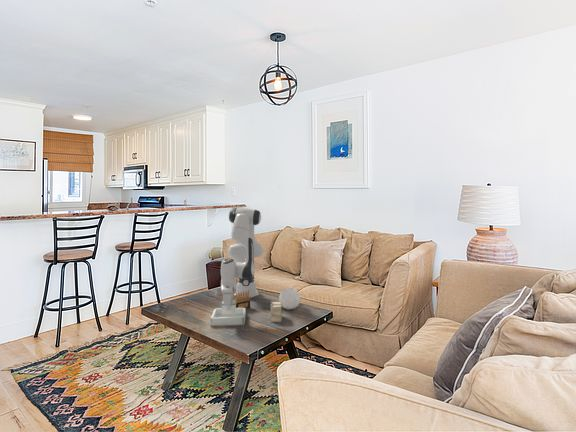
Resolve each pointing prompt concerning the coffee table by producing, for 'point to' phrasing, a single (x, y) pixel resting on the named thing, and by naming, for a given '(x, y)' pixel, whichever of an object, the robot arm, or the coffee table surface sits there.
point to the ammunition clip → (243, 300)
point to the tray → (228, 317)
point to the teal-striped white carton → (232, 308)
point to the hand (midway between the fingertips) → (228, 308)
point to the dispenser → (275, 311)
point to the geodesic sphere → (289, 298)
